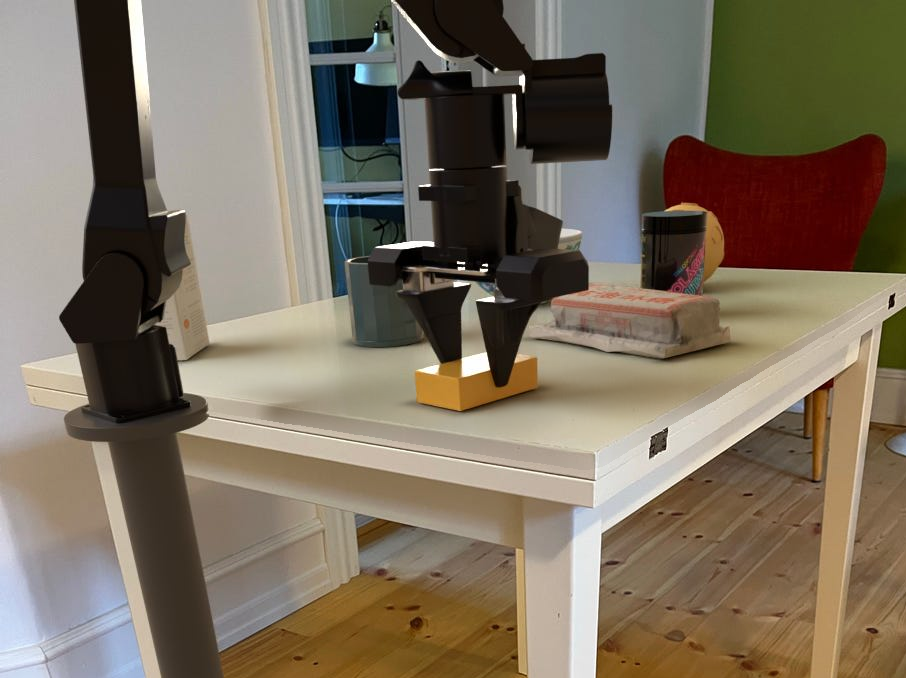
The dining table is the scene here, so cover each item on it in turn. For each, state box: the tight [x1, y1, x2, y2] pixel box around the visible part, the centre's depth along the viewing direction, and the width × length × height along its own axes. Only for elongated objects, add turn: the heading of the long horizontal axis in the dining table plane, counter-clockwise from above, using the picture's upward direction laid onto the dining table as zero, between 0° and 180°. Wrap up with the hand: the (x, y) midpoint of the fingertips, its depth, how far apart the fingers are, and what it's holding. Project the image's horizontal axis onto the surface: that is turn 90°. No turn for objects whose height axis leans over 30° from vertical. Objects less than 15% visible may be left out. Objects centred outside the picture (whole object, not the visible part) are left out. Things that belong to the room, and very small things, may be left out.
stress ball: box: [664, 202, 725, 284], centre depth 122 cm, size 10×10×10 cm
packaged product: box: [528, 282, 731, 360], centre depth 96 cm, size 18×5×10 cm
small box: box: [155, 214, 211, 361], centre depth 99 cm, size 8×6×13 cm
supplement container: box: [639, 210, 707, 296], centre depth 105 cm, size 7×7×10 cm
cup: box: [344, 255, 424, 348], centre depth 101 cm, size 7×7×8 cm
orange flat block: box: [414, 352, 539, 412], centre depth 79 cm, size 9×5×2 cm, turn 136°
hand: (477, 382), depth 79 cm, fingers closed on orange flat block, 5 cm apart
